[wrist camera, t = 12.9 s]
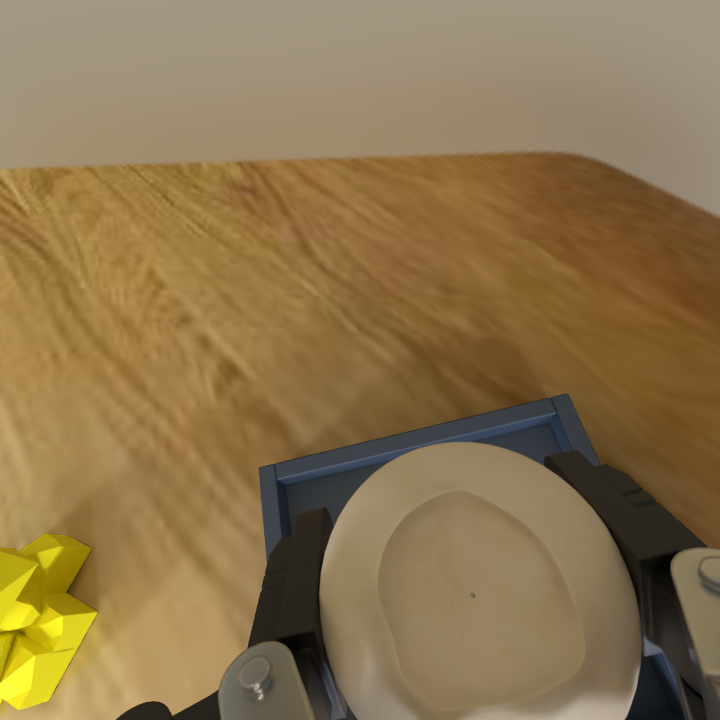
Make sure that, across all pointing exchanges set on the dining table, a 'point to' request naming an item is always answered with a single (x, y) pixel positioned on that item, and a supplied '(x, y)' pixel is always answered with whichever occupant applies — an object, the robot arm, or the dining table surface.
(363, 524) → the candle
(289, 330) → the dining table surface
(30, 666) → the crumpled paper
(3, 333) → the dining table surface
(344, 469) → the tray
